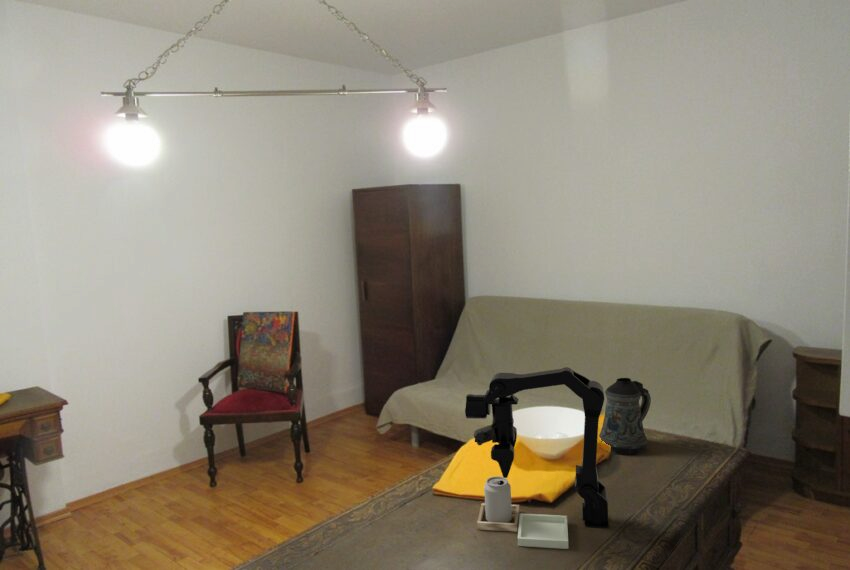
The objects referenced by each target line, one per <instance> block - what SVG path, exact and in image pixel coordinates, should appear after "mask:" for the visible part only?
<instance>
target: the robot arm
mask: <svg viewBox="0 0 850 570" xmlns="http://www.w3.org/2000/svg"><path fill="white" fill-rule="evenodd" d="M489 382H490V383H489V386H488V387H489V389H487V390H486V393H485V394H466V397H465V408H464V413H465V418H466V419H473V420H475V419H477V420H479V419H482V420H483V419H485V420H486V419H487V417H488V416H491V414H492V421H491V422H492V423H491V424H489V425H486V426H483V427H480V428H477V429H476V430H474V433H473V438H474V442H475V443H476V444H477V446H482V445H483V444H486V443H488V442H491V443H493V444H494V445H492V447H491V451H490V459H491V460H493V461H496V462H497V463H498V466H499V468H500V472H501V474H502V477H503V478H506V479H507V478H508V476H509V473H510V470H511V468H512V466H513V462H514V461H515V446H516V444H517V438H518V437H517V436H518V431H517V427H515V426H514V416H513V415H514V414H513V405H518V403H519V398H518V397H517V396H515V394H517V393H519V392H521V391H527V390H532V389H533V390H534V389H540V388H547V387H549V388H550V387H555V386H562V385H564V386H565V387H566V388H567V387H568V389H569V390H571V392H573V393H574V394H575V395H576V396H577V397H579V398H580V399H582V406H583V413H584V424H583V426H584V427H583V443H582V444H583V445H582V446H583V447H582V460H581V464H580V465H579V464H578V465H577V464H575V476H574V489H577V494H578V495H579V496H580V497H581V498H582V499H583V502H582V503H581V517H582V521H583V522H584V527H591V528H593V527H594V528H610V522H609V503H608V502H609V501H608V497H607V488H606V486H605V485H604V484H603V483H601V482H600V480H599V477H598V475H599V474H598V468H597V456H598V455H597V453H598V452H597V451H598V450H597V449H598V439H599V420H600V419H599V418H600V416H601V413H602V410H603V407H604V403H605V391H604V388H603V385H602V384H601V383H600V382H598V381H596V380H590V379H589V378H588V377H586V376H584V375H583V374H580V373H579V372H577V371H574V370H573V368H571V367H568V366H565V367H562V368H558V369H551V370H543V371H537V372H536V371H535V372H530V373H523V374H521V373H513V372H498V373H496V374H495V375H493V377H492V378H491V380H490V381H489ZM496 443H497V444H496Z"/></svg>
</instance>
